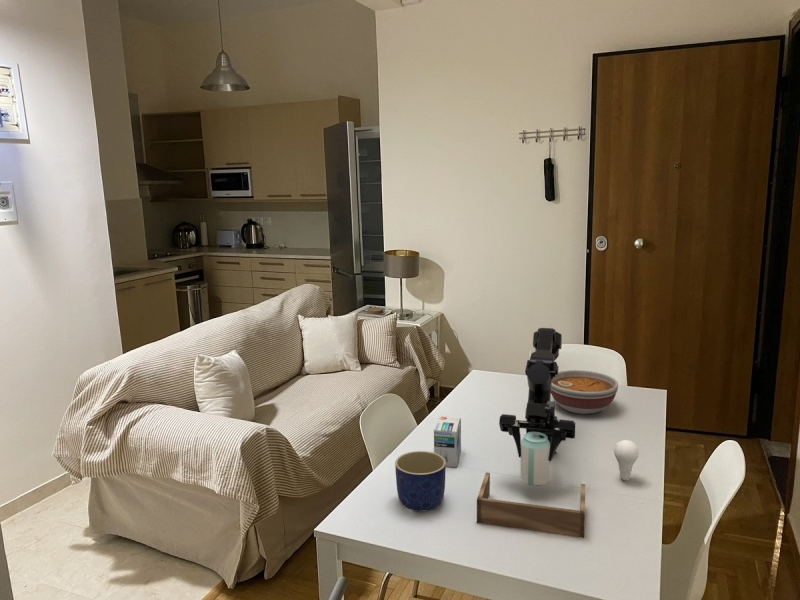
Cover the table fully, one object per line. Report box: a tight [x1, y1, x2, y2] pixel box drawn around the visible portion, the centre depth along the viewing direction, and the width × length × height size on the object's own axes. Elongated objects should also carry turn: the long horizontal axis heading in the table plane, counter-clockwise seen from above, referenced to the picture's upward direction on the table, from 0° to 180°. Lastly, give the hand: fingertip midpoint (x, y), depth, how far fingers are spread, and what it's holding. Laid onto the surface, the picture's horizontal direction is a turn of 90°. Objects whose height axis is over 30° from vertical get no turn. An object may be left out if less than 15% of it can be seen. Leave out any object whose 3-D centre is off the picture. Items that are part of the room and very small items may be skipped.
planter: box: [394, 450, 447, 512], centre depth 152 cm, size 12×12×11 cm
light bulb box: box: [433, 415, 462, 468], centre depth 175 cm, size 11×7×11 cm, turn 168°
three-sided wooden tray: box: [476, 471, 586, 539], centre depth 146 cm, size 14×24×6 cm, turn 73°
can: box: [519, 432, 551, 487], centre depth 154 cm, size 7×7×12 cm
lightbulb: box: [613, 439, 640, 481], centre depth 160 cm, size 6×6×11 cm
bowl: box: [551, 369, 619, 415], centre depth 209 cm, size 23×23×10 cm
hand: (534, 458), depth 152 cm, fingers closed on can, 7 cm apart
